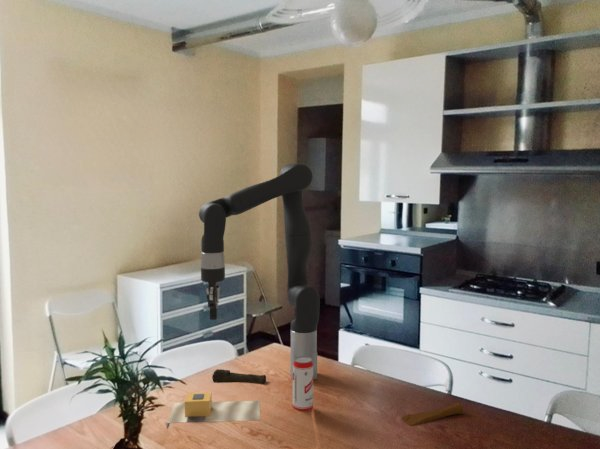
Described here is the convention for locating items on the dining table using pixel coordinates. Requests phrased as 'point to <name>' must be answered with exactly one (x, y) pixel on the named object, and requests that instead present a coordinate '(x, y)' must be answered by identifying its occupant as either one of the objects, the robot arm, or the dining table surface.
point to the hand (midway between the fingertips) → (213, 318)
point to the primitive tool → (432, 415)
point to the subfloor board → (219, 412)
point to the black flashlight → (236, 377)
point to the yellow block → (198, 404)
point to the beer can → (303, 383)
